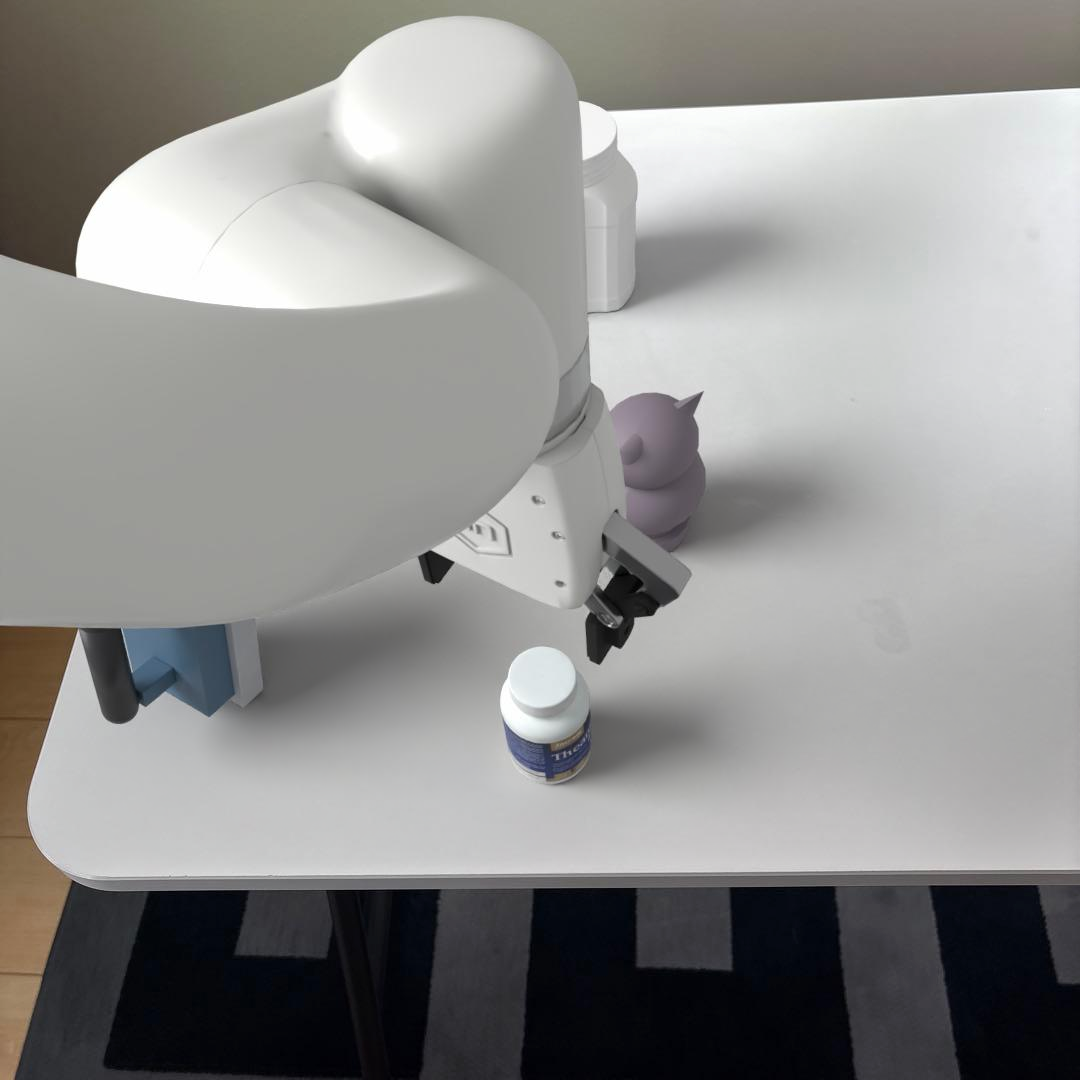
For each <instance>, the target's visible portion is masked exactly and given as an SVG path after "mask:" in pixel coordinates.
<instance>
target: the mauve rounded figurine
mask: <svg viewBox="0 0 1080 1080" xmlns="http://www.w3.org/2000/svg"><path fill="white" fill-rule="evenodd" d="M704 392H705V391H704V390H702V391H700V392H697V393H695V394H693V395H690V396H688V397H685V398H683V399H680V400H679V399H677V398H675V397H673V396H671V395H670V394H666V393H661V392H642V393H639V394H638V393H637V394H634V395H631V396H628V397H626V398H625V399H623V400H622V401H620V402H618V403H617V404H616V405H614V406H613V408H611V409H610V410H609V411H610V414H611V418H612V421H613V425H614V429H615V432H616V436H617V441H618V445H619V450H620V455H621V461H622V468H623V475H624V483H625V491H626V507H627V521H628V522H629V523H631V524H632V525H633V526H635V527H636V528H637V529H638V530H640V531H641V532H642V533H644V534H645V535H646V536H648V537H649V538H650V539H651V540H653V541H654V542H655V543H657V544H658V545H659V546H660V547H662V548H663V549H664V550H666V551H667V552H668V553H670V552H672V551H673V550H675V549H676V548H678V547H679V546H680V544H682V542H683V541H684V540H685V539H686V537H687V534H688V532H689V528H690V523H691V515H692V514H693V513H694V511H696V510H697V508H698V507H699V505H700V503H701V501H702V498H703V496H704V493H705V490H706V487H707V486H706V485H707V482H706V481H707V480H706V479H707V478H706V475H707V474H706V473H707V472H706V470H707V469H706V466H705V464H704V462H703V459H702V457H701V455H700V452H699V451H698V450H699V447H700V430H699V426H698V423H697V420H696V418H695V416H694V415H695V413H696V411H697V408H698V406H699V404H700V401H701V399H702V397H703V394H704Z"/></svg>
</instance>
